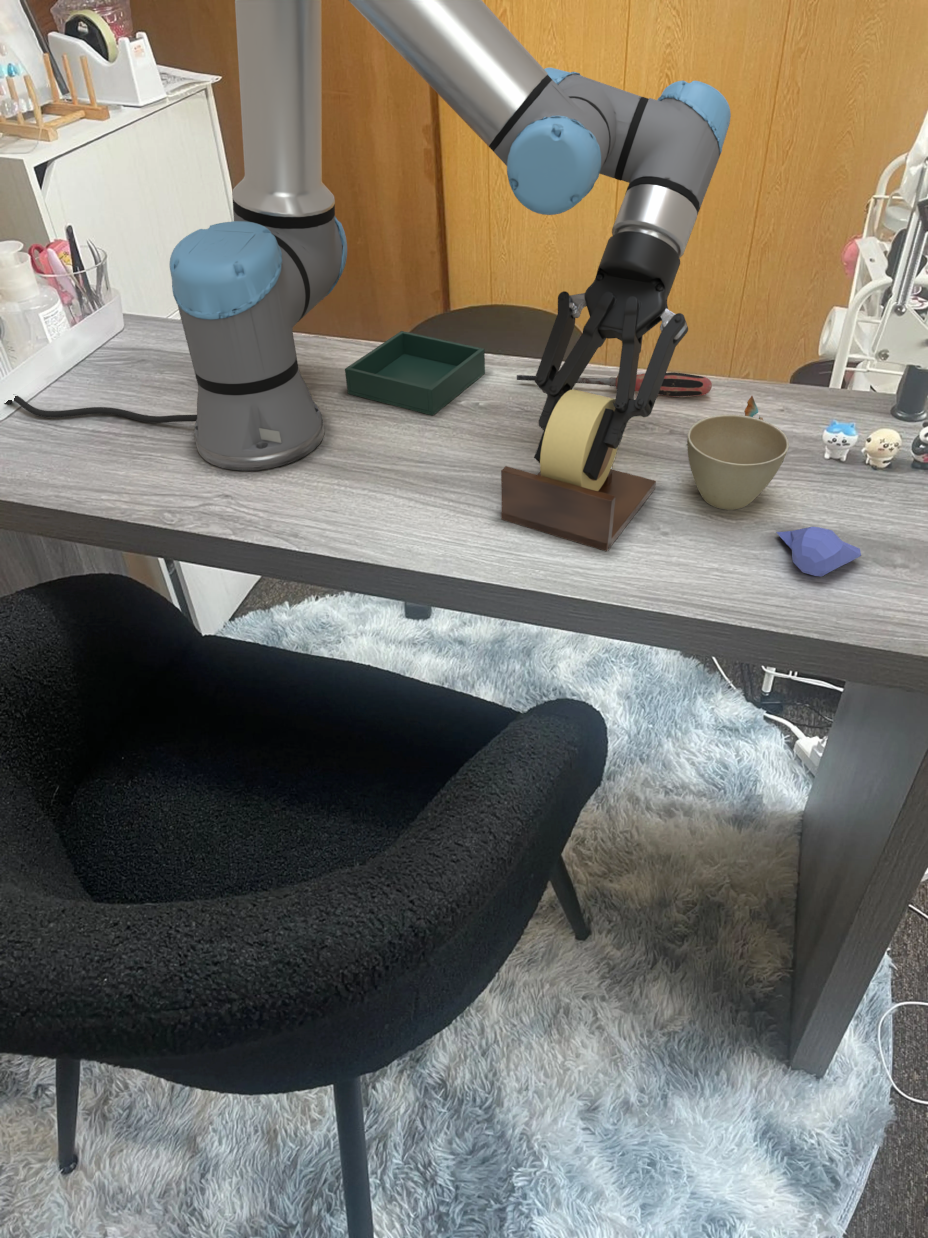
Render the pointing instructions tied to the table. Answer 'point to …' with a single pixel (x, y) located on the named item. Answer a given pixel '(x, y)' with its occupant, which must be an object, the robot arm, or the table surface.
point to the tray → (415, 372)
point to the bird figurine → (818, 550)
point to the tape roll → (575, 439)
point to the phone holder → (573, 505)
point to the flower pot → (734, 458)
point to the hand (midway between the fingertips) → (565, 468)
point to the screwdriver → (670, 386)
